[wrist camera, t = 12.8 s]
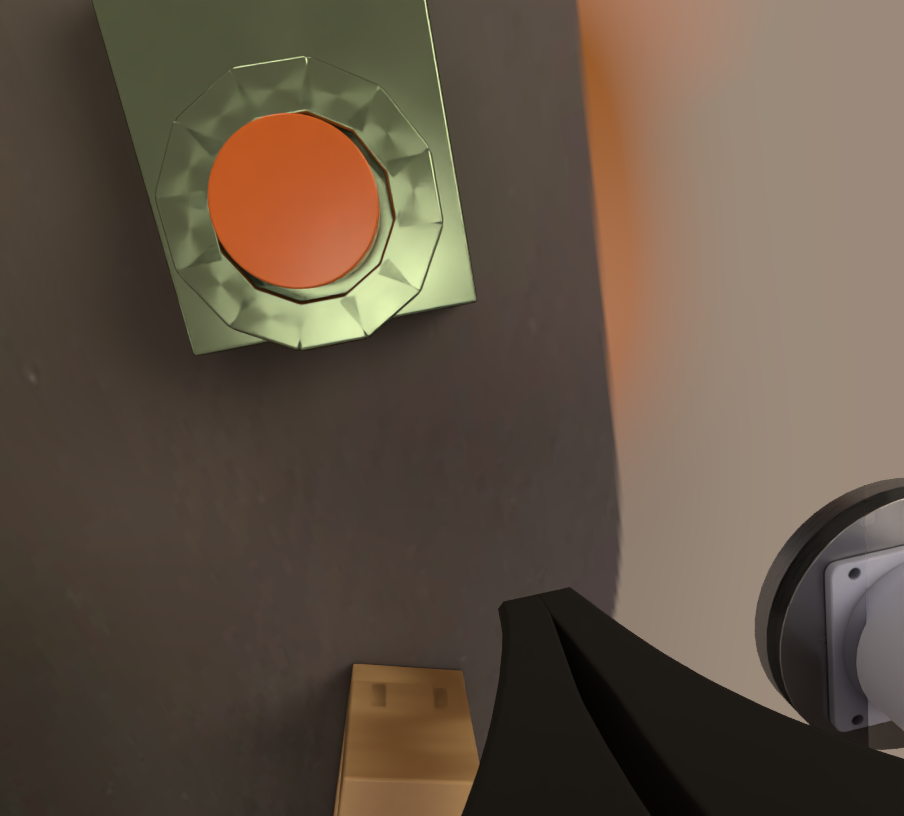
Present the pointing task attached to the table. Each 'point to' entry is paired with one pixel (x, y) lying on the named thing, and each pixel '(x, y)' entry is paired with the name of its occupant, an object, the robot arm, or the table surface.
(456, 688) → the wooden rack
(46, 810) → the table surface
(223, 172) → the button
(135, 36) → the control block
